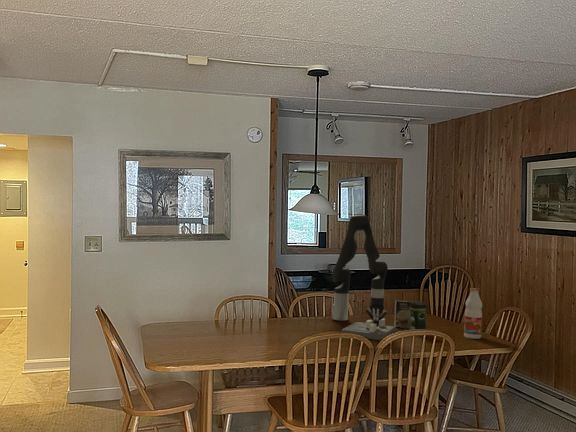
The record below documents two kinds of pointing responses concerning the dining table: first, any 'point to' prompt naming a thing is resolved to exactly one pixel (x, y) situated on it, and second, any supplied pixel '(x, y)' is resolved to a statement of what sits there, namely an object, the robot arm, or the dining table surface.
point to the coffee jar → (417, 315)
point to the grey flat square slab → (362, 330)
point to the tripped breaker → (368, 323)
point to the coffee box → (402, 313)
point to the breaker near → (372, 327)
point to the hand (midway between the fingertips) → (376, 326)
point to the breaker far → (382, 322)
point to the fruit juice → (473, 315)
